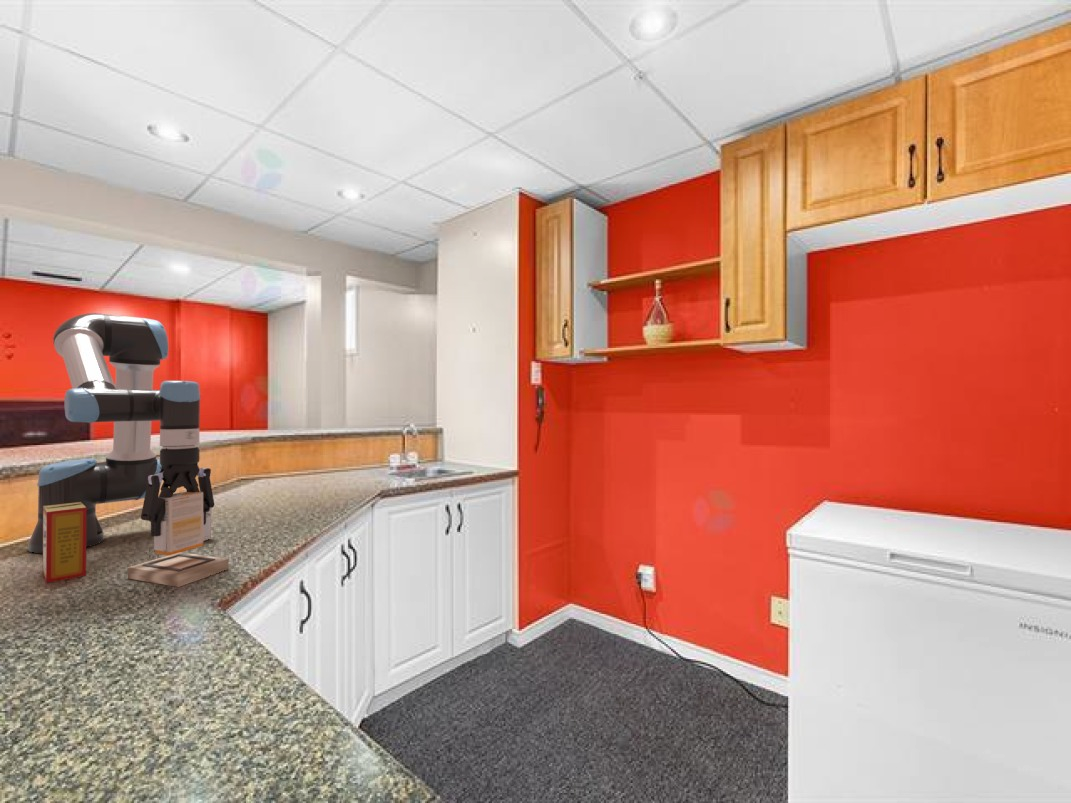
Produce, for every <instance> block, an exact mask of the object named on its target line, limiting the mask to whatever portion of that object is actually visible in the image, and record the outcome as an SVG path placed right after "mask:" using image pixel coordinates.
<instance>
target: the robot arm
mask: <svg viewBox="0 0 1071 803" xmlns="http://www.w3.org/2000/svg"><path fill="white" fill-rule="evenodd" d="M52 339H53V340H52V342H53V346H54V350H55V351H56V352H57V353H56V354H58V355H59V356H60V357H62V359H63V362H64V365H65V368H66V371H67V375H68V378H69V381H70V386H71V388H70V389H67V390H66V392H65V395H64V407H63V408H64V414H65V415H64V416H65V418H66V420H68V421H69V422H71V423H87V424H93V423H112V422H113V444H112V446H113V448H112V450H111V451H110V452H109V453H108V454H107V455H106V456H105V462H97V460H96V459H95V458H82V459H72V460H65V461H61V462H56V463H51V464H47V465H45V466H43V467H42V468H40V469H39V471H38V479H37V480H38V481H37V484H36V485H37V487H38V494H37V496H38V497H37V499H38V500H37V502H38V504H37V523H36V524H35V527H34V529H33V531H32V534H31V537H30V538H29V541H28V552H30V553H32V552H34V553H33V554H43V506H48V505H57V504H66V503H75V502H81V503H82V504H83V505H84V506H85V507H86V548H88V547H87V546H89V547H91V546H90V545H93V546H95V545H94V544H96V543H99V542H101V541H102V540H103V539H104V536H105V535H104V531H103V528H102V526H101V523H100V521H99V519H98V517H97V515H96V510H97V509H96V507H97V506H96V505H100V504H109V503H117V502H126V501H127V502H128V501H138V500H143V499H144V500H143V504H142V510H141V514H140V519H141V520H142V521H148V522H150V536H152V537H153V549H154V550H155V551H156V550H160V551H164V550H166V521H162V519H163V517H164V515H165V512H166V511H165V499H163V498H170V497H172V496H173V494H175V493H177V492H176V491H177V490H178V489H180V488H182V487H183V488H184V489H186V490H185V491H186V492H203V540H204V525H205V524H206V512H209V511H210V508H214V507H215V500H214V494H213V488H212V482H211V472H212V469H211V468H210V467H209V468H207V467H201V468H200V466H199V464H198V463H199V462H200V448H199V447H198V445H199V444H200V419H201V418H200V417H201V416H200V411H201V410H200V409H201V408H200V407H201V406H200V405H201V404H200V403H201V392H200V384H199V383H198V382H196V381H190V380H164V381H162V382H161V383H160V389H154V371H155V370H156V369H157V368H159V367H160V366H161V360H163V361H164V360H166V359H167V358H168V356H169V341H168V340H169V339H168V335H167V332H166V328H165V326H164V325H163V324H162V323H161V322H160V321H159V320H156V319H152V318H151V319H150V318H145V317H136V316H135V317H134V316H124V315H117V314H116V315H115V314H105V313H104V314H103V313H96V312H92V313H83V314H79V315H76V316H72V317H70V318H69V319H67V320H65V321H64V322H62V323H61V324H60V325H59V326H58V327H57V328H56V330H55V331H54V334H53V337H52ZM105 357H109V358H108V363H110V365H111V366H112V367H113V368H115V382H114V379H113V377H112V374H111V371H110V370H109V367H108V364H107V362H106V359H105ZM156 421H157V422H158V421H159V424H160V426H159V446H160V447H162V448H161V449H160V450H159V458H157V453H156V452H154V451H153V450H152V449H151V437H152V434H151V433H152V422H156ZM196 478H197V479H196ZM197 480H198V481H197ZM158 497H161V498H158ZM103 541H104V540H103ZM103 541H102V542H103ZM102 542H101V543H102ZM99 544H100V543H99ZM96 545H97V544H96ZM154 550H153V551H154Z"/></svg>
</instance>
